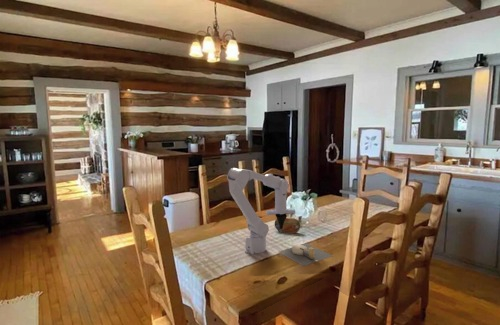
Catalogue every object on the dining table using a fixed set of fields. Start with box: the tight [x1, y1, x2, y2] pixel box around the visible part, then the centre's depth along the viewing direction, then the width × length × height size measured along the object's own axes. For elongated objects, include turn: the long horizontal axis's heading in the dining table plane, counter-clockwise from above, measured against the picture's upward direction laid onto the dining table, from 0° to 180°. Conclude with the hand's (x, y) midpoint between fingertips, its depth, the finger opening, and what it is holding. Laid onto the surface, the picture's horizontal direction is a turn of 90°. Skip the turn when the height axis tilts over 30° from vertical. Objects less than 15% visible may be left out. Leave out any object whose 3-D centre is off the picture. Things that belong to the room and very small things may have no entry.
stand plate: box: [278, 243, 333, 267], centre depth 141 cm, size 18×18×2 cm
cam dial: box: [291, 244, 314, 259], centre depth 140 cm, size 13×7×5 cm, turn 29°
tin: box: [274, 217, 301, 234], centre depth 174 cm, size 15×3×8 cm, turn 62°
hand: (280, 228), depth 153 cm, fingers closed
